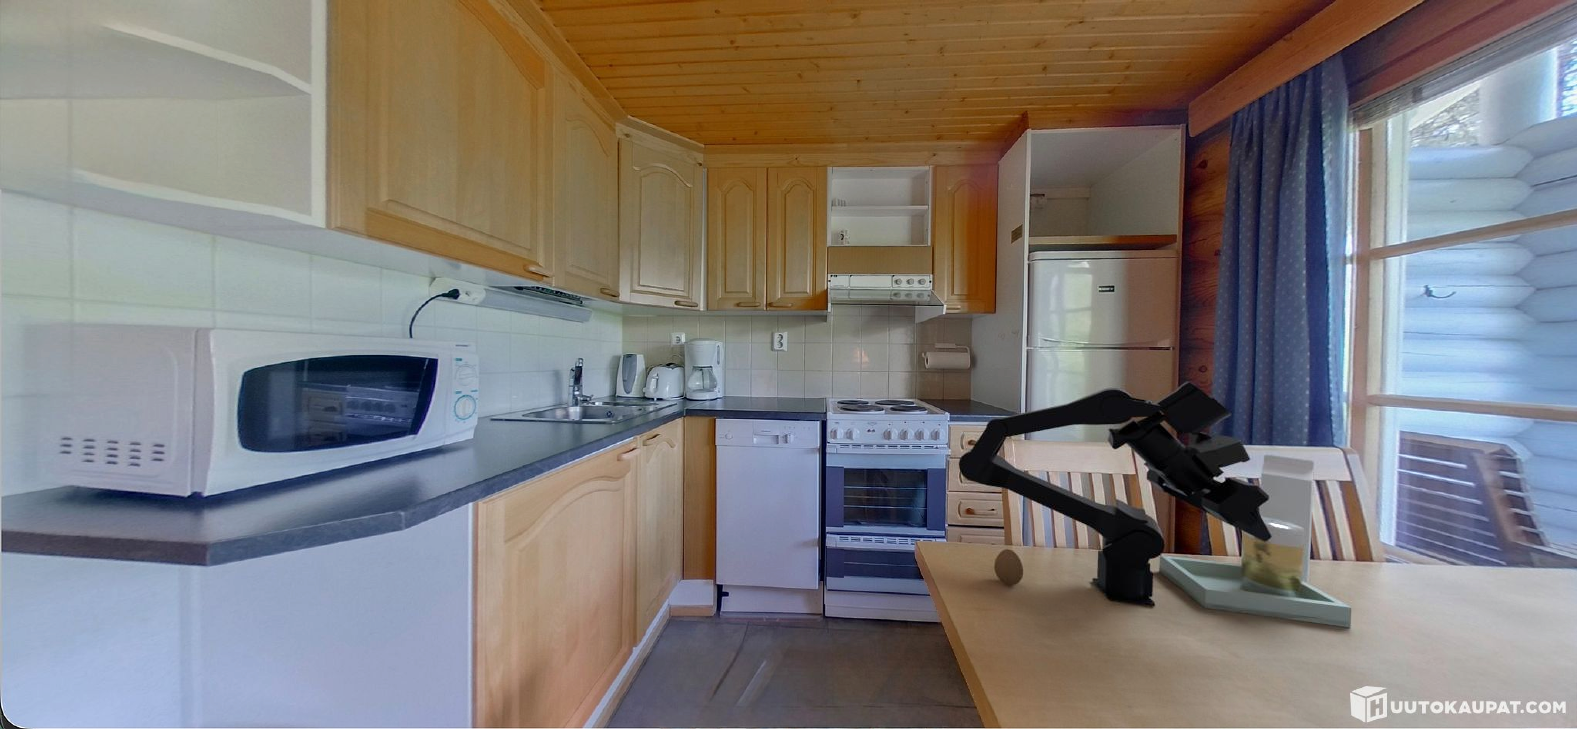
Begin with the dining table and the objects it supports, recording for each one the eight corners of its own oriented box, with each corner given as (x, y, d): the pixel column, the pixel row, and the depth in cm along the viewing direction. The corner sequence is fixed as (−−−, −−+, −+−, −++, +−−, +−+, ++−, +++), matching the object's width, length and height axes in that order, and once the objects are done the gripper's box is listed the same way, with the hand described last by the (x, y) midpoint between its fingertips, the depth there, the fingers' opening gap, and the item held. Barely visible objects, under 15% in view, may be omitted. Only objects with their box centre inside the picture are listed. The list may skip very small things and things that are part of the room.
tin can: (1284, 608, 66) (1287, 533, 66) (1230, 586, 73) (1233, 517, 73) (1311, 603, 68) (1315, 529, 68) (1256, 581, 75) (1259, 514, 74)
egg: (994, 587, 72) (995, 552, 72) (993, 575, 77) (994, 542, 76) (1024, 593, 71) (1025, 557, 71) (1021, 580, 75) (1022, 547, 75)
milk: (1307, 587, 75) (1313, 463, 74) (1256, 572, 79) (1261, 456, 79) (1309, 576, 78) (1315, 458, 78) (1260, 563, 83) (1265, 452, 82)
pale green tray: (1205, 607, 68) (1205, 589, 68) (1159, 570, 79) (1160, 555, 79) (1350, 627, 63) (1351, 607, 63) (1279, 585, 75) (1280, 568, 75)
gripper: (1254, 428, 58) (1354, 516, 56) (1169, 411, 76) (1241, 477, 74) (1183, 479, 60) (1277, 567, 58) (1116, 451, 78) (1186, 517, 76)
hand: (1242, 526), depth 66 cm, fingers open, 9 cm apart
